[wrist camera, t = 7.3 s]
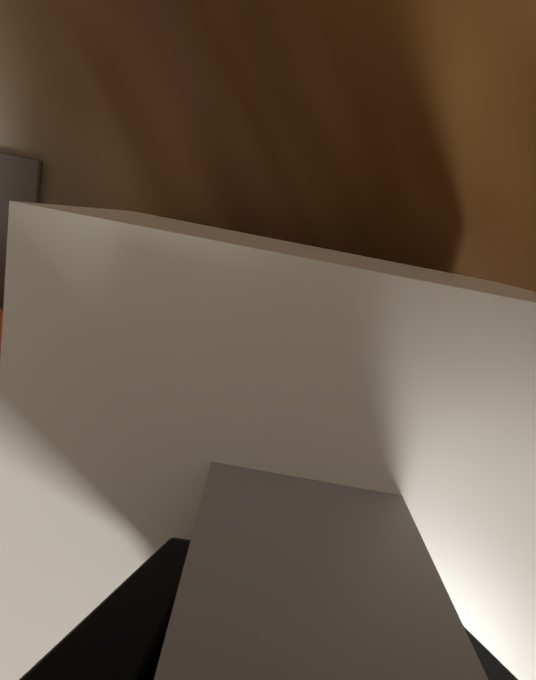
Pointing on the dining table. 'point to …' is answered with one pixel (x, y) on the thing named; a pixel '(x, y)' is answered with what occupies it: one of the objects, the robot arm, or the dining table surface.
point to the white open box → (265, 450)
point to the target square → (15, 197)
